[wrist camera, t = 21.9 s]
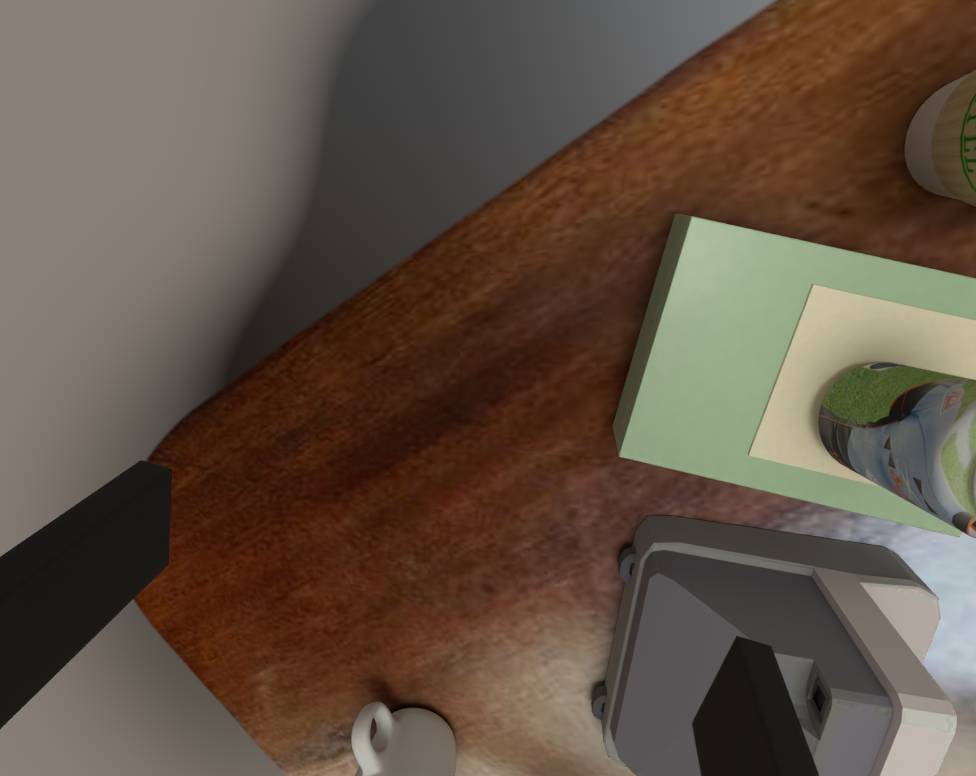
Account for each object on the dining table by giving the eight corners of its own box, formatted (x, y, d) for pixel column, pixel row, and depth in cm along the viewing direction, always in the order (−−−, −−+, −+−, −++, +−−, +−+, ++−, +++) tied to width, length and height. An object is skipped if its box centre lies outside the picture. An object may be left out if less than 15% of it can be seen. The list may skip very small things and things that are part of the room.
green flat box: (675, 212, 37) (692, 216, 32) (1015, 287, 36) (1087, 302, 31) (611, 426, 41) (618, 458, 36) (912, 497, 40) (961, 539, 35)
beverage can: (790, 443, 35) (902, 566, 23) (848, 320, 32) (1003, 389, 21) (899, 475, 34) (1066, 614, 23) (965, 352, 32) (1186, 440, 21)
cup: (338, 683, 50) (298, 770, 43) (421, 654, 49) (395, 740, 41) (401, 779, 53) (374, 877, 45) (483, 755, 51) (469, 853, 43)
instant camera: (811, 785, 48) (916, 1034, 34) (556, 707, 49) (554, 920, 34) (946, 562, 41) (1148, 757, 27) (648, 475, 42) (692, 620, 28)
